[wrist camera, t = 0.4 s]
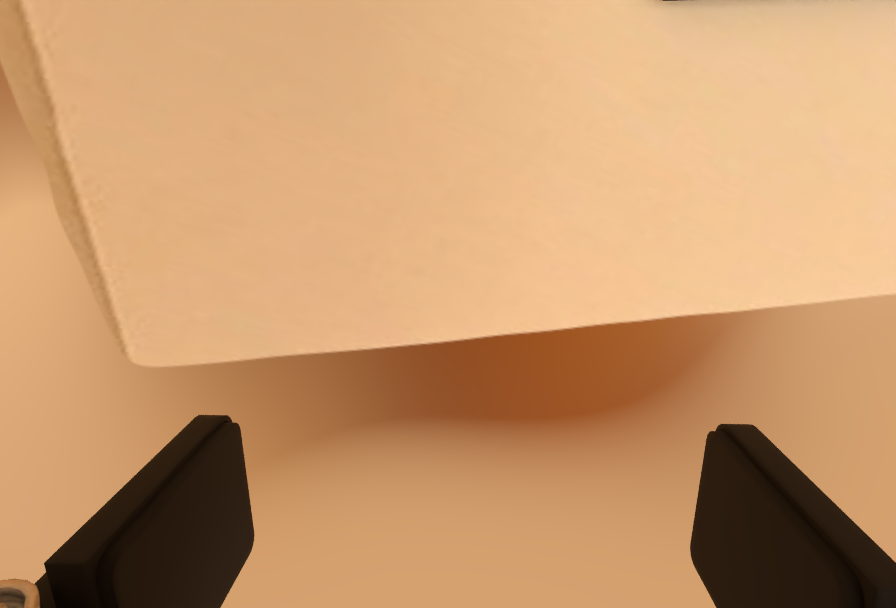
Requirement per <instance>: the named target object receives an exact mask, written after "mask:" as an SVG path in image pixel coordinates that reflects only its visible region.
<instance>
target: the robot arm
mask: <svg viewBox="0 0 896 608" xmlns="http://www.w3.org/2000/svg"><path fill="white" fill-rule="evenodd" d="M253 542H254V528H253V521H252V513H251V505H250V498H249V490H248V483H247V476H246V468H245V460H244V454H243V446H242V437H241V430H240V427H239V425H238V424H237V423H232V420H231V418H230V417H228V416H227V415H223V416H222V415H198V416H197V417H195V418H194V419H193V420H192V421H191V422H190V423H189V424H188V425H187V426H186V427H185V428H184V429H183V430H182V431H181V432H180V433H179V434H178V435H177V436H175V437H174V438H173V439H172V440H171V441H170V442H169V443H168V444H167V445H166V446H165V447H164V448H163V449H162V450H161V451H160V452H159V453H158V454H157V455H156V456H155V457H154V458H153V459H152V460H151V461H150V462H148V464H146V465H145V466H144V467H143V468H142V469H141V470H140V471H139V472H138V473H137V474H136V475H135V476H134V477H133V478H132V479H131V480H130V481H129V482H128V483H127V484H126V485H125V486H124V487H123V488H122V489H120V490H119V491H118V492H117V493H116V494H115V495H114V496H113V497H112V498H111V499H110V500H109V501H108V502H107V503H106V504H105V505H104V506H103V507H102V508H101V509H100V510H99V511H98V512H97V513H96V514H95V515H93V517H91V519H89V520H88V521H87V522H86V523H85V524H84V525H83V526H82V527H81V528H80V529H79V530H78V531H77V532H76V533H75V534H74V535H73V536H72V537H71V538H70V539H69V540H68V541H67V542H65V544H63V545H62V546H61V547H60V548H59V549H58V550H57V551H56V552H55V553H54V554H53V555H52V556H51V557H50V558H49V559H48V560H47V561H46V562H45V563H44V565H45V568H46V573H45V574H44V575H43V576H42V577H41V578H40V579H39V580H38V581H37V582H36V583H35V584H33V583H31V582H29V581H28V580H19V579H9V580H2V581H0V608H220V607H221V605H222V604H223V602H224V600H225V598H226V596H227V594H228V593H229V591H230V589H231V587H232V585H233V583H234V581H235V580H236V578H237V576H238V574H239V573H240V571H241V569H242V567H243V565H244V564H245V562H246V560H247V558H248V556H249V554H250V552H251V550H252V547H253ZM690 550H691V558H692V561H693V564H694V566H695V568H696V570H697V572H698V574H699V576H700V578H701V580H702V581H703V583H704V585H705V587H706V589H707V591H708V593H709V594H710V596H711V598H712V600H713V602H714V604H715V606H716V608H896V563H895V562H894V561H893V560H892V559H891V558H890V557H889V556H888V555H887V554H886V553H885V552H884V551H883V550H882V549H881V548H880V547H879V546H878V545H877V544H876V543H875V542H874V541H873V540H872V539H871V538H870V537H869V536H868V535H867V534H865V533H864V532H863V531H862V530H861V529H860V528H859V527H858V526H857V525H856V524H855V523H854V522H853V521H852V520H851V519H850V518H849V517H848V516H847V515H846V514H845V513H844V512H843V511H842V510H841V509H840V508H839V507H838V506H837V505H836V504H835V503H833V502H832V500H831V499H830V498H828V497H827V496H826V495H825V494H824V493H823V492H822V491H821V490H820V489H819V488H818V487H817V486H816V485H815V484H814V483H813V482H812V481H811V480H810V479H809V478H808V477H807V476H806V475H805V474H804V473H803V472H802V471H801V470H800V469H798V467H796V466H795V464H793V463H792V462H791V461H790V460H789V459H788V458H787V457H786V456H785V455H784V454H783V453H782V452H781V451H780V450H779V449H778V448H777V447H776V446H775V445H774V444H773V443H772V442H771V441H770V440H769V439H768V438H767V437H766V436H765V435H764V434H763V433H762V432H761V431H759V430H758V429H757V428H756V427H755V426H754V425H748V424H747V425H746V424H721V425H719V426H718V427H717V429H716V431H711V432H709V434H708V435H707V439H706V446H705V452H704V459H703V465H702V472H701V479H700V485H699V492H698V498H697V505H696V512H695V518H694V525H693V531H692V537H691V545H690Z"/></svg>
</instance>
